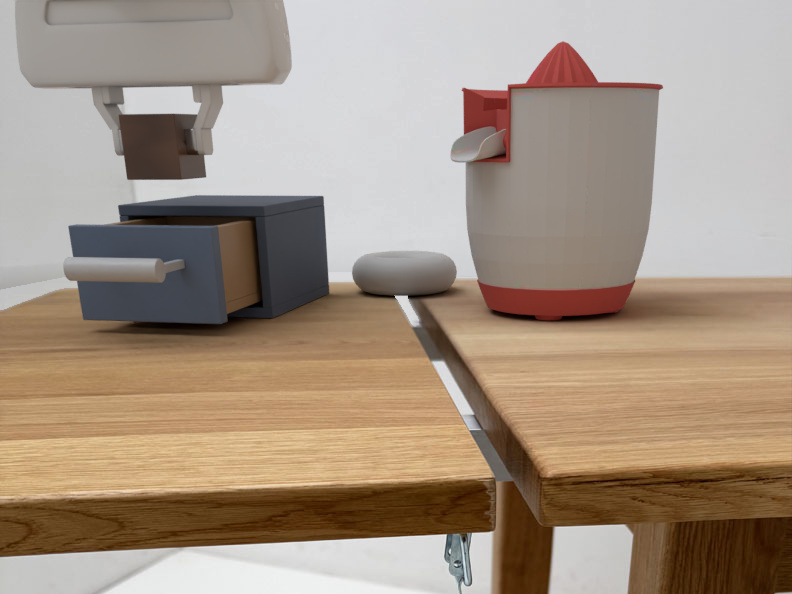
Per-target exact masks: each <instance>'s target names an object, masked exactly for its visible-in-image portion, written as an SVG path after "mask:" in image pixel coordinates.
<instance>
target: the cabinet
mask: <svg viewBox="0 0 792 594" xmlns="http://www.w3.org/2000/svg"><path fill="white" fill-rule="evenodd" d="M117 209H118V215H119V222H123V221H130V220H136V219H143V218H149V217H156V216H231V217H256V229H257V241H258V252H259V264H260V275H261V287H262V299H263V300H262V301H260V302H257V303H254V304H252V305H249V306H247V307H244V308H241V309H239V310H236V311H234V312H231V313H228V314H227V318H250V319H251V318H252V319H254V318H255V319H256V318H257V319H274V318H276V317H279V316H281V315H283V314H286V313H288V312H290V311H292V310H294V309H297V308H299V307H301V306H304V305H306V304H309V303H310V302H314V301H315V300H318V299H320V298H322V297H324V296H326V295H329V294H330V279H329V264H328V263H329V262H328V246H327V229H326V213H325V211H326V210H325V196H324V195H237V194H236V195H229V194H226V195H225V194H224V195H221V194H220V195H219V194H218V195H217V194H216V195H215V194H213V195H212V194H208V195H207V194H196V195H188V196H179V197H173V198H164V199H157V200H148V201H140V202H133V203H132V202H131V203H123V204H118V205H117Z"/></svg>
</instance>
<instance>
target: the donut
mask: <svg viewBox="0 0 792 594" xmlns="http://www.w3.org/2000/svg"><path fill="white" fill-rule="evenodd" d="M351 270H352V271H351V276H352V280H353V282H354V284H355V285H356V286H357V287H358V288H359V289H360V290H361V291H363V292H365V293H367V294H371V295H379V296H392V297H393V296H394V297H410V296H411V297H412V296H426V295H433V294H440V293H442V292H445V291H446V290H449V289H450V288H451V287H452V286H453V284H454V283H455V282H456V281H455V280H456V279H457V274H458V273H457V272H458V270H457V266H456V263H455V261H454V260H453V259H452V258H451V257H450V256H448V255H446V254H444V253H441V252H435V251H428V250H427V251H426V250H390V251H389V250H388V251H378V252H370V253H366V254H364V255H362V256H360V257H359V258H357V259H356V261H354V263H353V266H352V269H351Z"/></svg>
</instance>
